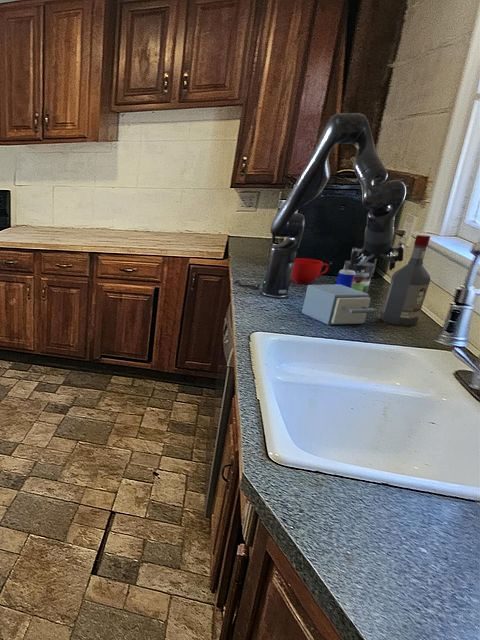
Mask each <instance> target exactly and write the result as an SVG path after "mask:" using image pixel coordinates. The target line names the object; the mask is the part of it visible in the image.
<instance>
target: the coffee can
mask: <svg viewBox="0 0 480 640" xmlns="http://www.w3.org/2000/svg"><path fill="white" fill-rule="evenodd" d="M375 266H376V264H375V263H373V262H369V261H367V262H364V263H363V264H362V270H361V272H359V271H357V265H356V264H354V265H351V260H345V261H344V266H343V269H345V270H353V271H355V276H354V280H353V284H352V289H355V290H358V291H361V292H364V293H367V294H368V291H369V286H370V283H371V279H372V276H373V273H374V269H375Z"/></svg>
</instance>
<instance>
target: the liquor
mask: <svg viewBox="0 0 480 640" xmlns="http://www.w3.org/2000/svg"><path fill="white" fill-rule="evenodd" d="M430 239H431V236H430V235H425V234H417V235H416V237H415V240H414V244H413V249H412V252H411V255H410V257H409V260H408V261H407V264H405V265H403V266H402V267H400V268H399V269H398V270H396V271H394V273H393V274H392V275H391V278H390V282H389V286H388V289H387V290H388V291H387V293H386V297H385V299H384V302H383V303H384V304H383V307H382V310H381V313H380V319H381V321H382V322H384V323H387V324H390V325H395V326H399V327H400V326H402V327H408V326H414V325H416V324H417V323H418V321H419V317H420V314H421V311H422V307H423V305H424V301H425V299H426V296H427V292H428V290H429V289H428V288H429V285H430V282H431V275H430V274H429V273H428V271H427V270H426V268H425V267H424V258H425V254H426V251H427V247H428V246H429V243H430Z"/></svg>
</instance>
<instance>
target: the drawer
mask: <svg viewBox="0 0 480 640" xmlns="http://www.w3.org/2000/svg"><path fill="white" fill-rule="evenodd" d="M371 300H372V298H371V297H370V296H369V297H364V298H363V297H336V301H335V305H334V309H333V313H332V317H331V323H333V324H336V325H341V324H340V323H362V324H364V323H365V321H366V318H367V314H373V313H375V311H376V310H375V309H374V308H369V307H370V303H371Z"/></svg>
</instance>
